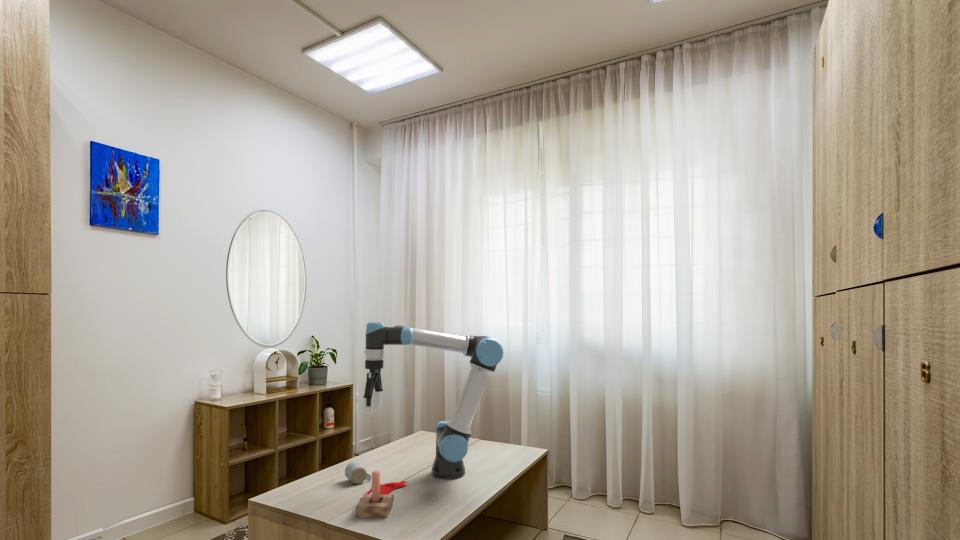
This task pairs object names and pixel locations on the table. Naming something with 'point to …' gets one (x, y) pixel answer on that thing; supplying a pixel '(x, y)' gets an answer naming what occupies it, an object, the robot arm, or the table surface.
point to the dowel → (375, 487)
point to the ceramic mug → (356, 473)
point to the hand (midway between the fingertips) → (373, 410)
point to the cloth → (389, 487)
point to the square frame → (374, 506)
